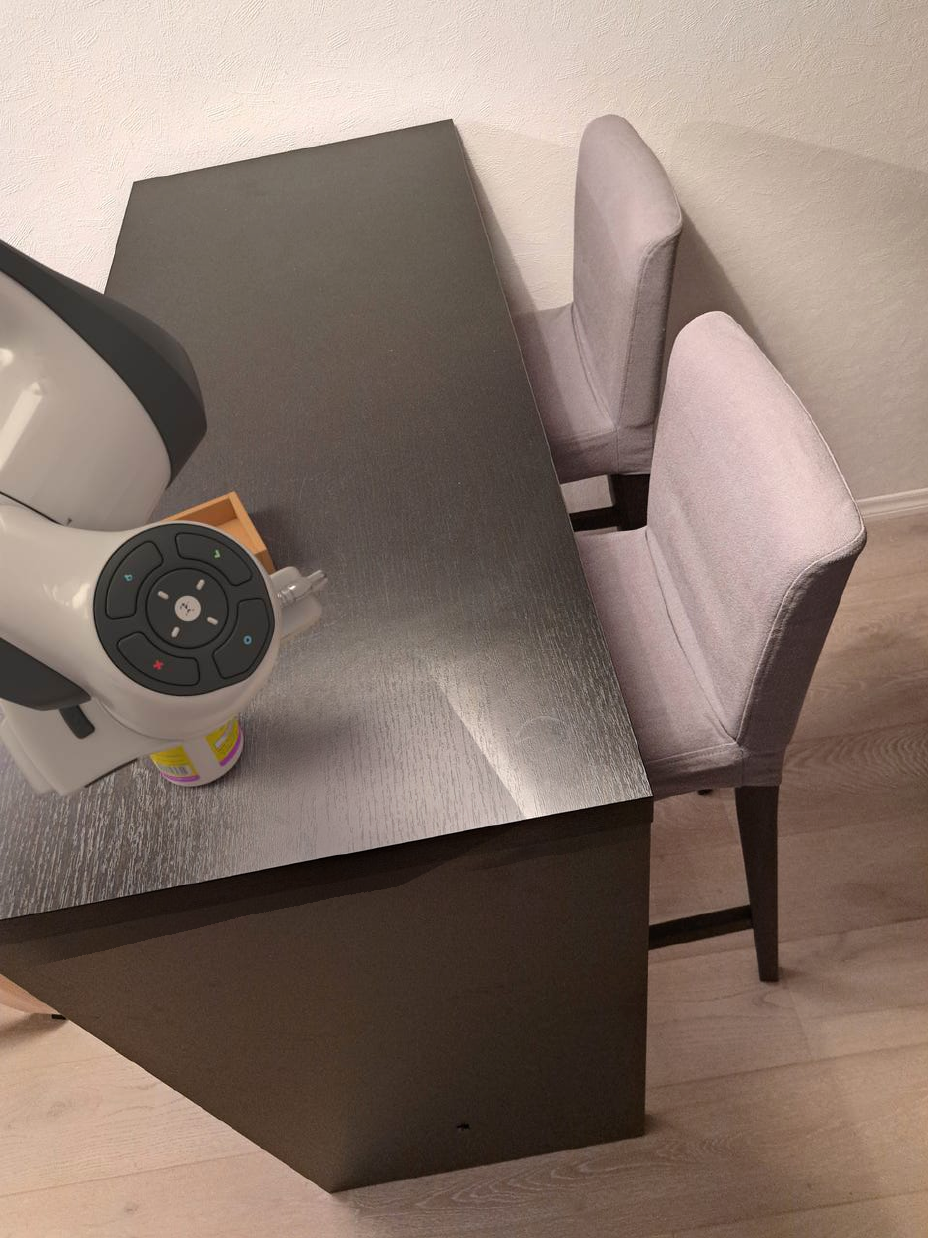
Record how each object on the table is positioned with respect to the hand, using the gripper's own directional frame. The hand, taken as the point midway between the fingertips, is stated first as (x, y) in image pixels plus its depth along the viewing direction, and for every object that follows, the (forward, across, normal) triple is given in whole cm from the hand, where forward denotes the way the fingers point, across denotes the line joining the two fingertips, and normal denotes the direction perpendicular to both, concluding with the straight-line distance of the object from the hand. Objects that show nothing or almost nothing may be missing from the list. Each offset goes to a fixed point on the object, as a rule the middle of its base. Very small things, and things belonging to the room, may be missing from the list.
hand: (169, 688), depth 65 cm
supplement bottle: (+8, 0, +5) cm, 9 cm away
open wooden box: (+23, -11, -10) cm, 27 cm away
